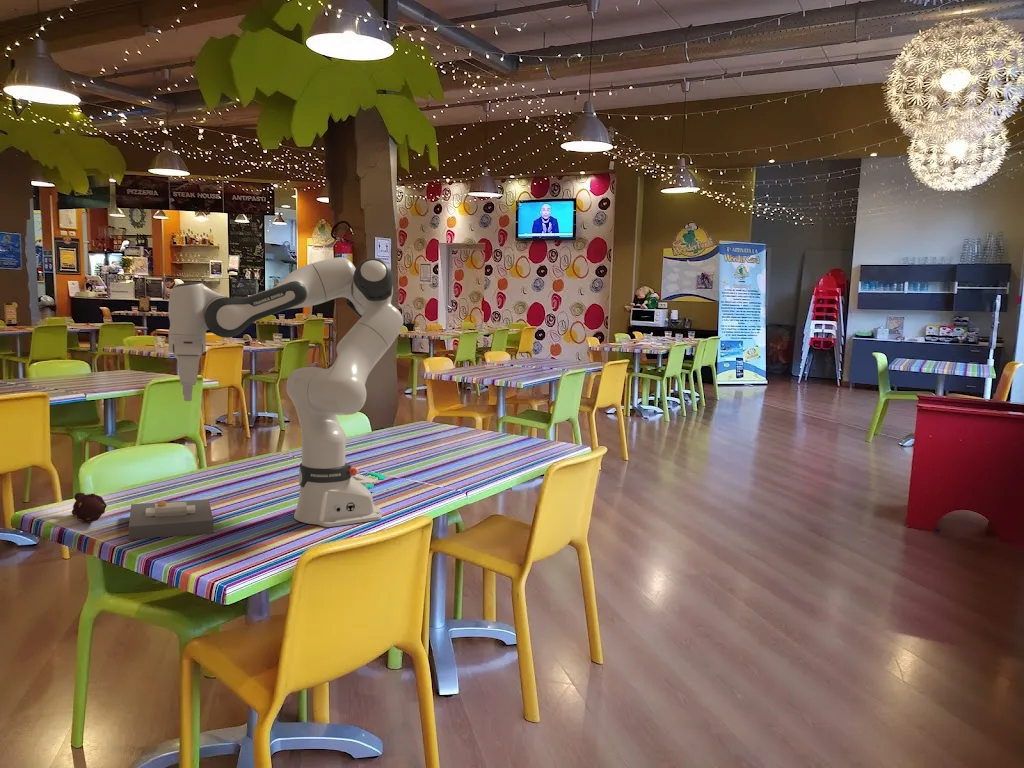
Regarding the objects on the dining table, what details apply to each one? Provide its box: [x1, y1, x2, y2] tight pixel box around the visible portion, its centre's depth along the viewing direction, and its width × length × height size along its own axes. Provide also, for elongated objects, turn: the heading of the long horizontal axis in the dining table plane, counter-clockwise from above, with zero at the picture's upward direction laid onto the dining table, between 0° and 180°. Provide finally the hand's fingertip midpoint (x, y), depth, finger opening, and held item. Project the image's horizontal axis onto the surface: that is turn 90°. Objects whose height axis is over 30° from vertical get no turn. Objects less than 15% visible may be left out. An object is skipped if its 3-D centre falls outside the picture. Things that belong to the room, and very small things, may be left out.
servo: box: [146, 500, 196, 517], centre depth 182 cm, size 11×4×6 cm, turn 115°
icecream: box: [71, 492, 108, 523], centre depth 181 cm, size 7×7×15 cm
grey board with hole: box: [128, 498, 214, 541], centre depth 182 cm, size 18×18×3 cm
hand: (187, 397), depth 194 cm, fingers open, 8 cm apart
